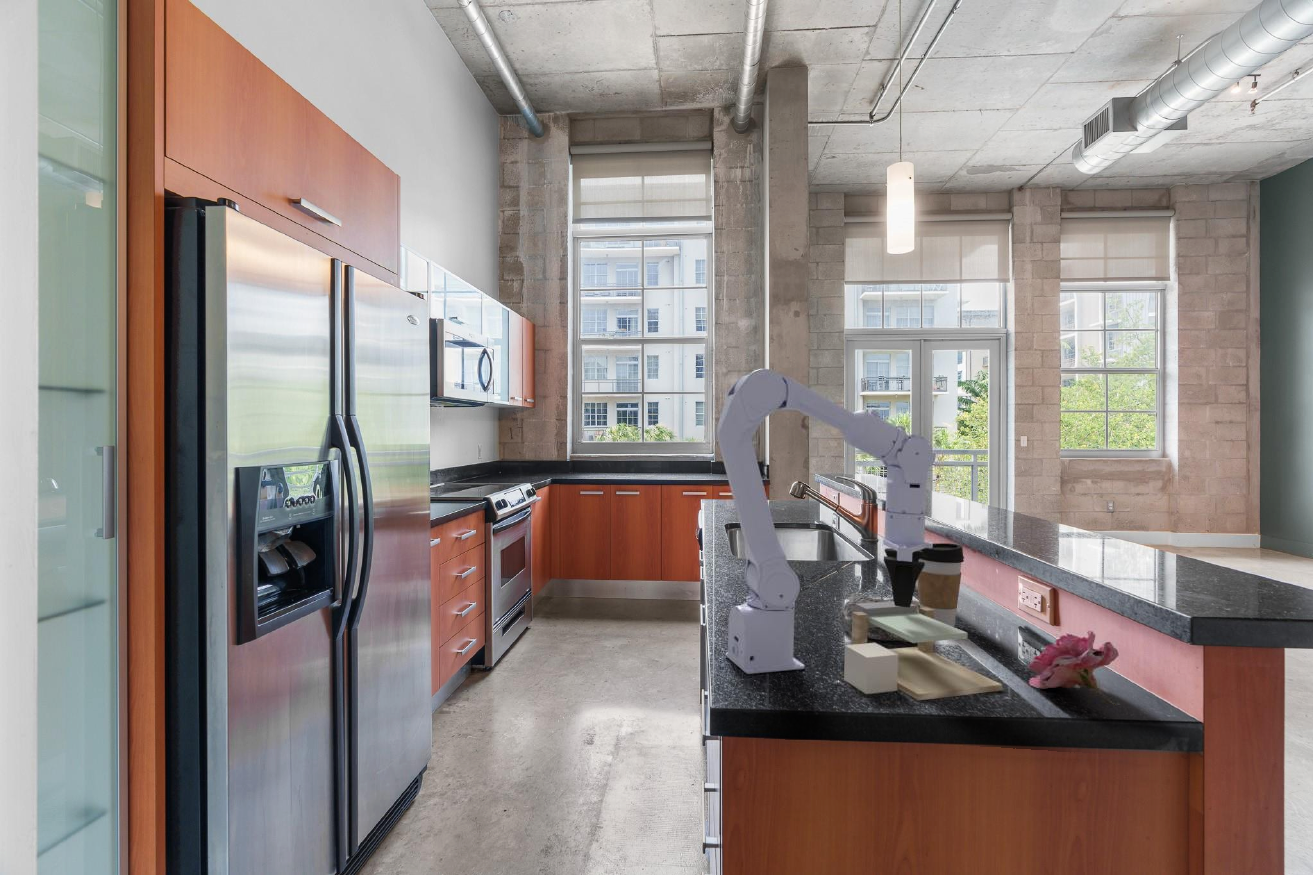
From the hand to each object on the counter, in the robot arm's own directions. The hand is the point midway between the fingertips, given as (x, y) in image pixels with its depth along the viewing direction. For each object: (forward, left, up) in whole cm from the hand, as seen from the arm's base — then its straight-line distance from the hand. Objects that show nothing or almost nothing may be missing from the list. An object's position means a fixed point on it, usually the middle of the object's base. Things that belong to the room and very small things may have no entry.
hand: (901, 600), depth 95 cm
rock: (+7, +13, -10) cm, 18 cm away
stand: (0, -3, -10) cm, 10 cm away
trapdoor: (0, -2, -5) cm, 5 cm away
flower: (+16, -15, -10) cm, 24 cm away
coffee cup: (+21, +16, -10) cm, 28 cm away
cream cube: (-10, -6, -10) cm, 15 cm away
